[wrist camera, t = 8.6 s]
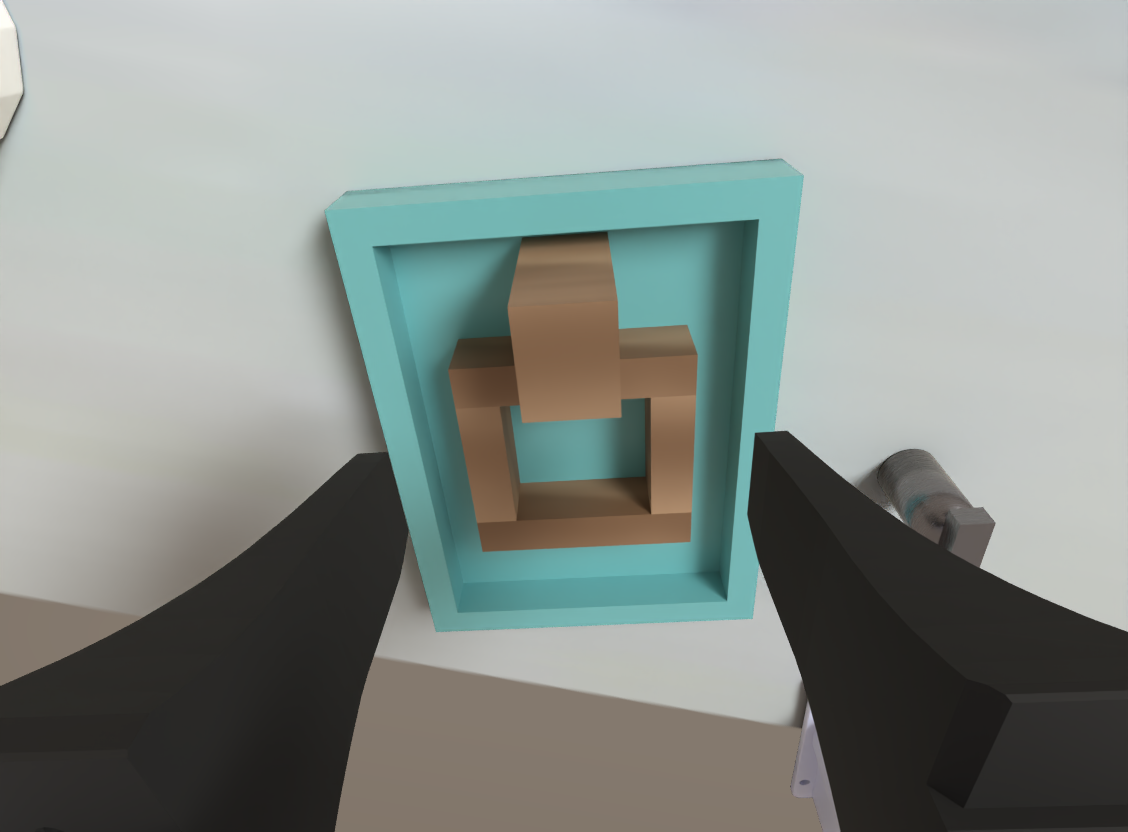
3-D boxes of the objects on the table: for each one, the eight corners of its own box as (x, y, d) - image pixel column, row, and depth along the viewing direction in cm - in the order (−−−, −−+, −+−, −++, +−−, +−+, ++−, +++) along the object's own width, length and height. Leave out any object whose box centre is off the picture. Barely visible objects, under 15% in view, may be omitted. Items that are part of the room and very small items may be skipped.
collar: (682, 503, 24) (705, 612, 19) (488, 513, 24) (471, 622, 20) (690, 225, 18) (725, 293, 14) (441, 243, 19) (403, 314, 14)
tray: (740, 579, 26) (752, 618, 25) (444, 592, 27) (436, 631, 25) (781, 158, 18) (803, 175, 16) (346, 191, 18) (324, 210, 17)
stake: (927, 499, 24) (989, 585, 20) (871, 501, 24) (923, 588, 21) (944, 440, 23) (1013, 522, 19) (884, 443, 23) (942, 525, 19)
